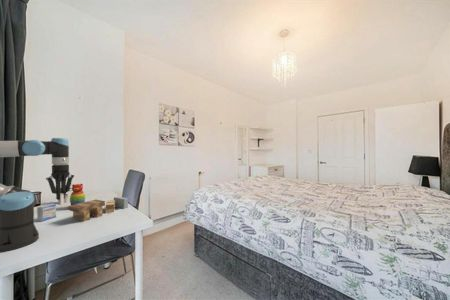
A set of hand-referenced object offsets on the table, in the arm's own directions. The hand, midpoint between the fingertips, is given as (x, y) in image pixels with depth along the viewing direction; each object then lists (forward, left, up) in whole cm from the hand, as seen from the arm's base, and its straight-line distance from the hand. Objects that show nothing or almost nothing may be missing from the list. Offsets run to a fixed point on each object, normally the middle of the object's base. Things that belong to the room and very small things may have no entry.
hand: (61, 204), depth 110 cm
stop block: (+38, 0, -12) cm, 40 cm away
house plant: (+25, +53, -13) cm, 60 cm away
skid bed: (+15, 0, -12) cm, 19 cm away
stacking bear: (+24, +29, -13) cm, 40 cm away
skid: (+30, 0, -13) cm, 33 cm away
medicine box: (+2, +20, -13) cm, 24 cm away
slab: (+15, 0, -6) cm, 16 cm away
